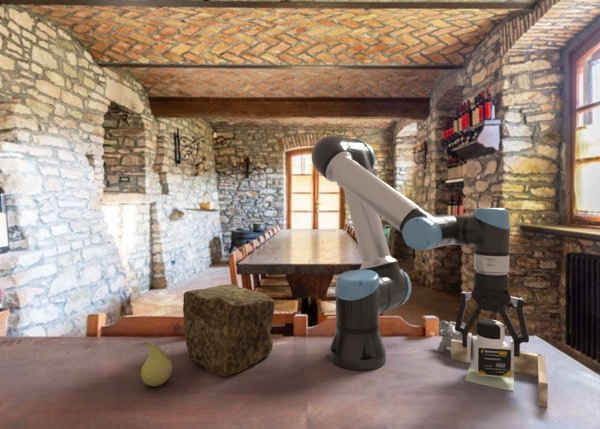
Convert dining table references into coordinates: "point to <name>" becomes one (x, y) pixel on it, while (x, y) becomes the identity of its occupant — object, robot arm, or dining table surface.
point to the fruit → (156, 367)
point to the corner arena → (516, 367)
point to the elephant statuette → (448, 334)
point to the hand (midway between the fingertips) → (490, 364)
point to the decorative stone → (227, 327)
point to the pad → (490, 380)
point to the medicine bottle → (491, 350)
